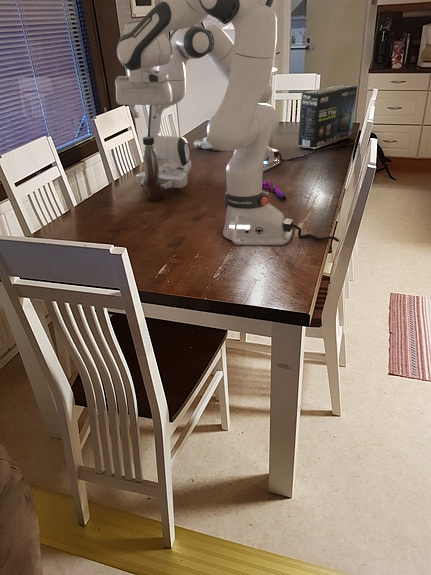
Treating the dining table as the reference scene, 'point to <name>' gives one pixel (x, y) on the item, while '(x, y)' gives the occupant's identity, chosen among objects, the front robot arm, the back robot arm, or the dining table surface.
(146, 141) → the cap
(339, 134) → the router box
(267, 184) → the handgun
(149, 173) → the bottle
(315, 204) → the dining table surface
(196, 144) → the fossil
